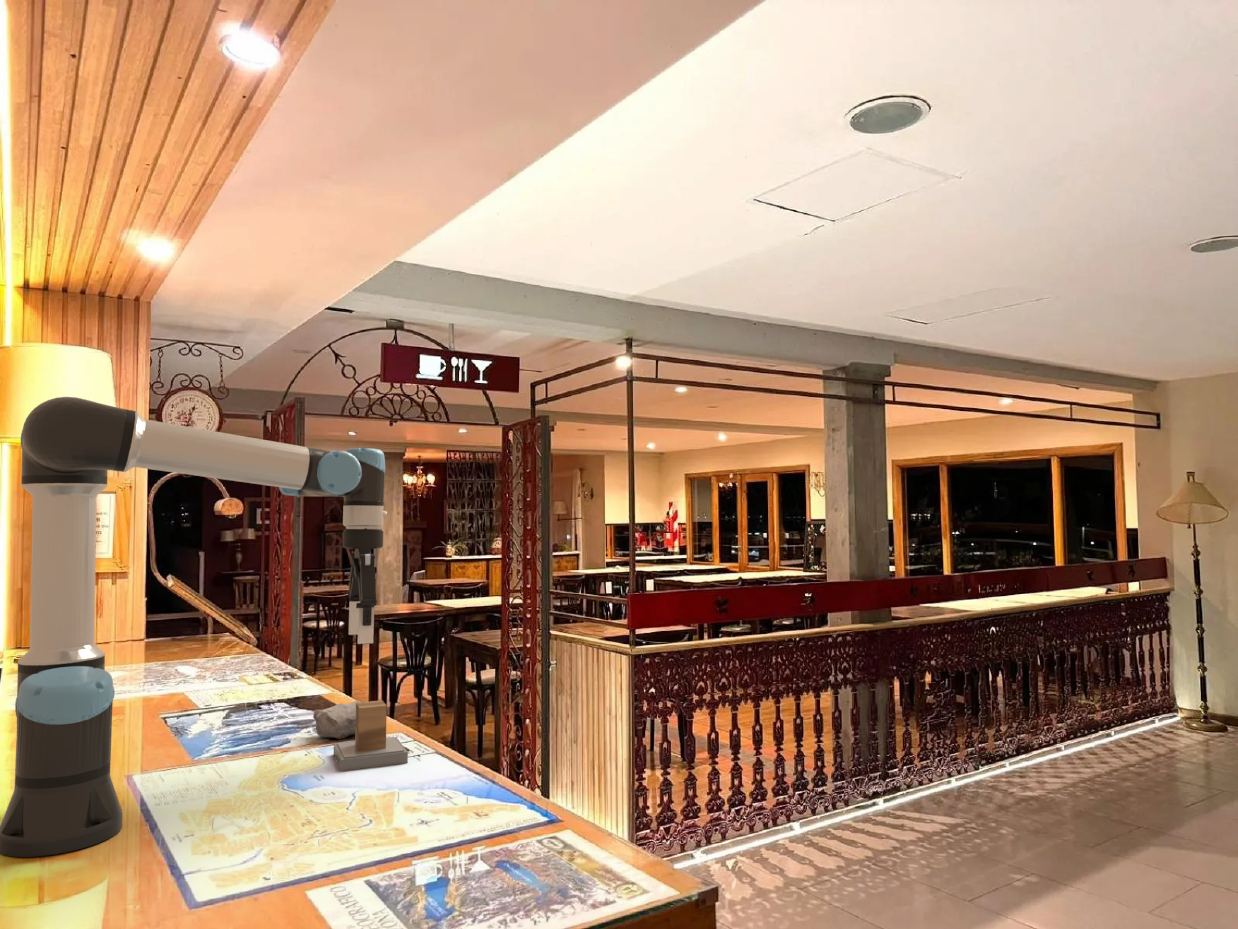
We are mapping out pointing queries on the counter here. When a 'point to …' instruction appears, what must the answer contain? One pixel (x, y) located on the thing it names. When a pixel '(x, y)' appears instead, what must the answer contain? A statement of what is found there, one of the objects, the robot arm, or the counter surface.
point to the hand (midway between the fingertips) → (360, 638)
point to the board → (370, 755)
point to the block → (370, 725)
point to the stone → (336, 720)
